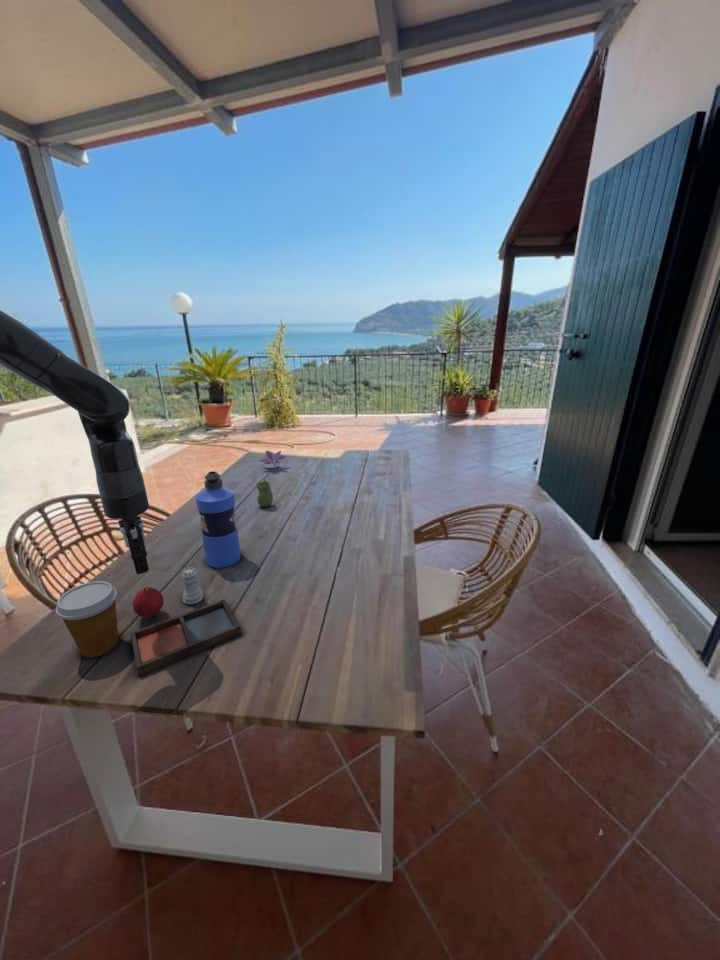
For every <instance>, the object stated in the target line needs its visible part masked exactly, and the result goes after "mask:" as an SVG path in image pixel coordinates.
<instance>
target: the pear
mask: <svg viewBox="0 0 720 960" xmlns="http://www.w3.org/2000/svg"><path fill="white" fill-rule="evenodd" d="M256 489H257V490H258V495H257V498H256V501H257V504H258V505H259V506H260V507H263V508H267V507H269V506H271V505H272V503H273V502H274V501H273V500H274V494H273V491H272V490H271V484H270V483H269V481H268V479H262V480H259V481H258V482H257V484H256Z"/></svg>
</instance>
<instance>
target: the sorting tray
mask: <svg viewBox="0 0 720 960" xmlns="http://www.w3.org/2000/svg"><path fill="white" fill-rule="evenodd" d="M129 635H130V640H131V644H132V650H133V656H134V660H135V667H136V671H137V674H138V677H141V676H144V675H147V674H148V673H151V672H153V671H156V670H158V669H161V668H163V667H166V666H168V665H171V664H173V663H175V662H178V661H180V660H183V659H185V658H187V657H190V656H192V655H194V654H198V653H200V652H202V651H204V650H207V649H209V648H211V647H214V646H217V645H219V644H221V643H223V642H226V641H228V640H231V639H233V638H236V637H238V636H240V635H242V628H241V625H240V623H239V622H238V620H237V617H236V616H235V615H234V613H233V611H232V609H231V608H230V606H229V604H228V603H227V600H226V599H225V598H224V599H221V600H218V601H214V602H212V603H209V604H207V605H206V604H205V605H204V606H201V607H198V608H195V609H193V610H190V611H186V612H184V613H181V614H178V615H176V616H173V617H170V618H166V619H164V620H162V621H159V622H155V623H153V624H150V625H147V626H144V627H142V628H139V629H136V630H134V631H130V632H129Z"/></svg>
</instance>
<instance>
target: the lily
mask: <svg viewBox="0 0 720 960" xmlns="http://www.w3.org/2000/svg"><path fill="white" fill-rule="evenodd" d="M264 455H265V457H264V458H262V459H260V460H259V462H261V463H263V465H264V464H270V465H273V464H274V467H276V465H275V463H279V464H280V461H281V460H284V459H287V458H288V455H284V454H282V450H279V451H276V452H275V453H274V452H272V451H270V450H265V451H264ZM271 463H272V464H271ZM274 469H275V468H274ZM275 472H276V473H277V468H276V469H275Z"/></svg>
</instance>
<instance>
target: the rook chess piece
mask: <svg viewBox="0 0 720 960" xmlns="http://www.w3.org/2000/svg"><path fill="white" fill-rule="evenodd" d="M197 574H198V571H197V570H196V568H195V567H193V566H191V567H189V566H188V567H186V568H183V570H182V573H181V577H182V578H183V582H184V591H183V594H182V598H183V599H182V601H183V603H184V604H186V605H189V606H192V605H193V606H194V605H197V604H198V603H200V602H202V600H203V599H204V596H205V595H204V592H203V589H202V588H201V587H200V586H199V584H198V581H197V580H198V577H197V576H196V575H197Z"/></svg>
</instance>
